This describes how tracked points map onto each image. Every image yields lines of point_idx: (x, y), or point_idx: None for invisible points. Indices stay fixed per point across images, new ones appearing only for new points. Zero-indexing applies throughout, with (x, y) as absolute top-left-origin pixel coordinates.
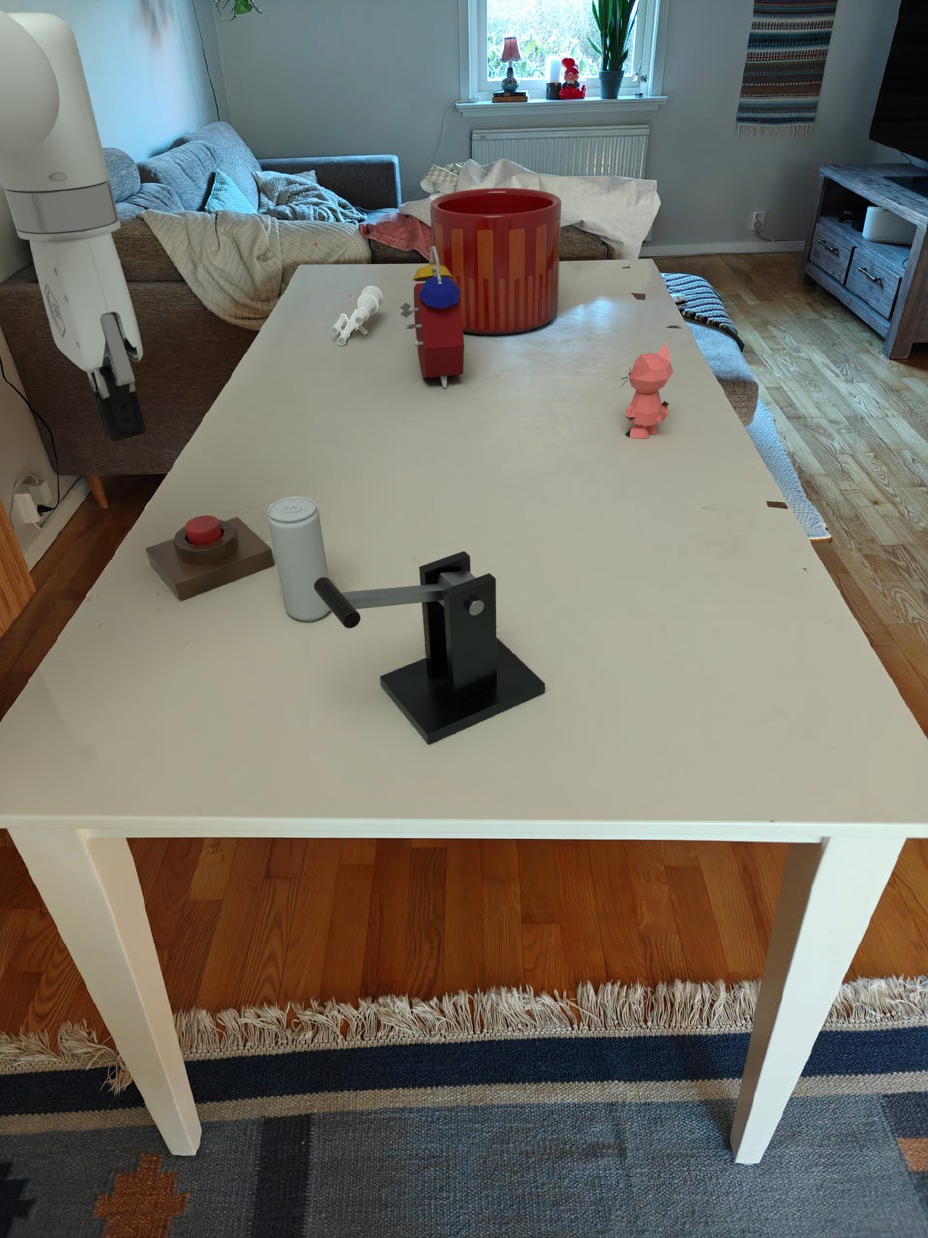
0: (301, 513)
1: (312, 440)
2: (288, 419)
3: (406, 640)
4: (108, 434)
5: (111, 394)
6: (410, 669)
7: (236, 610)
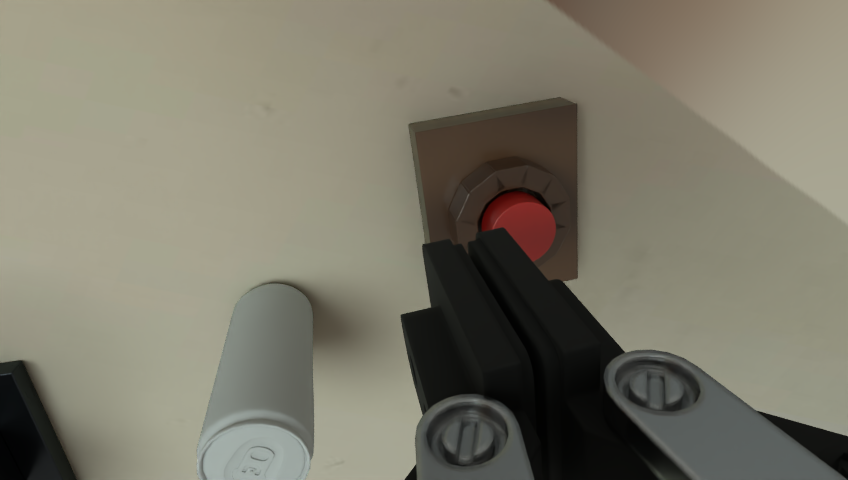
0: (222, 477)
1: None
2: (841, 392)
3: (132, 413)
4: (433, 251)
5: (412, 474)
6: (15, 412)
7: (331, 208)
